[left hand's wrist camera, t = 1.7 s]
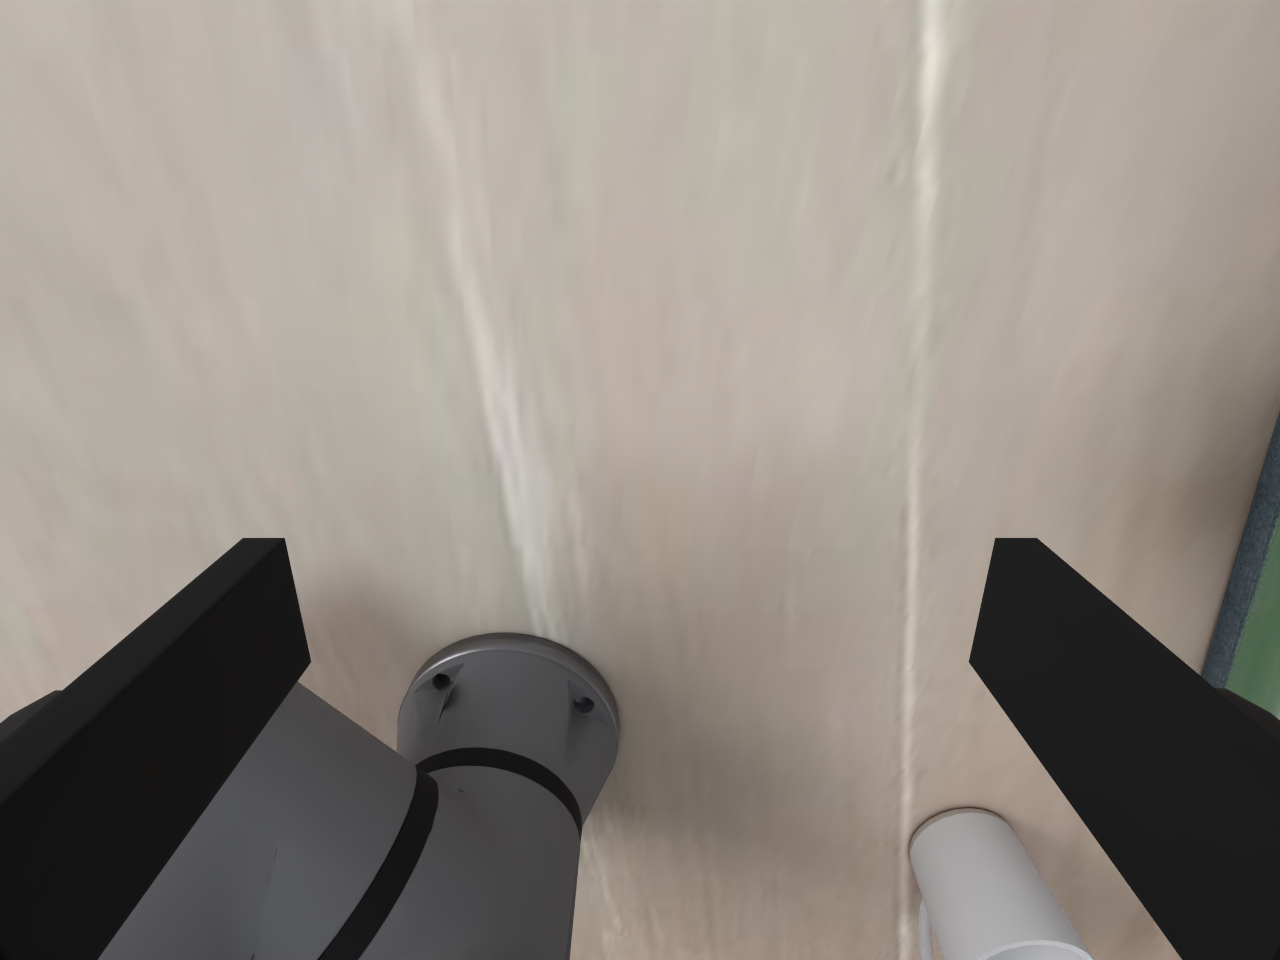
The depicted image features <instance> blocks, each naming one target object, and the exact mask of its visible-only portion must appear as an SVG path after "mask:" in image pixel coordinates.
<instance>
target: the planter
mask: <svg viewBox="0 0 1280 960" xmlns="http://www.w3.org/2000/svg"><path fill="white" fill-rule="evenodd" d="M1201 677H1202V678H1203V679H1204V680H1206V681H1207V682H1208V683H1209V684H1210V685H1212V686H1213V687H1214V688H1226V689H1228V690H1230V691H1232V692H1234V693H1235V694H1237V695H1239V696H1241V697H1243V698H1245V699H1246V700H1248V701H1250V702H1252V703H1254V704H1255V705H1257V706H1259V707H1261V708H1263V709H1265V710H1266V711H1268V712H1270V713H1271V714H1273V715H1274V716H1275V717H1276V718H1278V719H1279V720H1280V412H1279V416H1278V419H1277V422H1276V426H1275V429H1274V432H1273V436H1272V439H1271V442H1270V446H1269V449H1268V452H1267V456H1266V459H1265V462H1264V466H1263V469H1262V472H1261V476H1260V479H1259V483H1258V486H1257V489H1256V493H1255V496H1254V499H1253V503H1252V506H1251V510H1250V513H1249V516H1248V520H1247V523H1246V526H1245V530H1244V533H1243V537H1242V540H1241V543H1240V547H1239V550H1238V554H1237V557H1236V560H1235V564H1234V567H1233V570H1232V574H1231V577H1230V581H1229V584H1228V587H1227V591H1226V594H1225V598H1224V601H1223V605H1222V608H1221V611H1220V615H1219V618H1218V622H1217V625H1216V628H1215V632H1214V635H1213V639H1212V642H1211V646H1210V649H1209V652H1208V656H1207V659H1206V663H1205V666H1204V670H1203V673H1202V676H1201Z"/></svg>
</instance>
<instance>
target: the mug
mask: <svg viewBox="0 0 1280 960" xmlns="http://www.w3.org/2000/svg"><path fill="white" fill-rule="evenodd" d="M909 858H910V861H911V864H912V867H913V870H914V873H915V876H916V879H917V882H918V885H919V889H920V892H921V895H922V898H923V899H922V902H921V906H920V910H919V926H918V929H919V945H920V955H921V960H934V956H933V947H932V938H931V925H932V928H933V931H934V934H935V937H936V940H937V943H938V946H939V949H940V952H941V955H942V958H943V960H1094V958H1093V957H1092V955H1091V953H1090V952H1089V950H1088V949H1087V947H1086V945H1085V944H1084V942H1083V941H1082V939H1081V937H1080V936H1079V934H1078V933H1077V931H1076V929H1075V928H1074V926H1073V925H1072V923H1071V922H1070V920H1069V918H1068V917H1067V915H1066V914H1065V912H1064V910H1063V909H1062V907H1061V906H1060V904H1059V902H1058V901H1057V899H1056V898H1055V896H1054V894H1053V893H1052V891H1051V890H1050V888H1049V886H1048V885H1047V883H1046V882H1045V880H1044V879H1043V877H1042V875H1041V874H1040V872H1039V871H1038V869H1037V867H1036V866H1035V864H1034V863H1033V861H1032V859H1031V858H1030V856H1029V855H1028V853H1027V851H1026V850H1025V848H1024V847H1023V845H1022V843H1021V842H1020V840H1019V839H1018V837H1017V836H1016V834H1015V832H1014V831H1013V829H1012V828H1011V826H1010V825H1009V824H1008V823H1007V822H1006V821H1005V820H1004V819H1002V818H1001V817H999V816H997V815H996V814H994V813H992V812H989V811H986V810H982V809H974V808H963V809H954V810H950V811H947V812H944V813H941V814H939V815H937V816H935V817H933V818H931V819H929V820H928V821H927V822H925V823H924V824H923V825H922V826H920V827H919V829H918V830H917V831H916V833H915V834H914V835H913V838H912V841H911V843H910V847H909Z"/></svg>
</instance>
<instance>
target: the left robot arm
mask: <svg viewBox="0 0 1280 960" xmlns="http://www.w3.org/2000/svg"><path fill="white" fill-rule="evenodd" d="M310 663H311V659H310V654H309V650H308V645H307V640H306V636H305V631H304V626H303V622H302V617H301V612H300V608H299V603H298V598H297V594H296V589H295V584H294V580H293V575H292V570H291V566H290V561H289V556H288V552H287V547H286V542H285V538H243V539H241V540H240V541H239V542H238V543H237V544H236V545H234V546H233V547H232V548H231V549H230V550H228V551H227V552H226V553H225V554H224V555H222V556H221V557H220V558H219V559H218V560H217V561H215V562H214V563H213V564H212V565H211V566H209V567H208V568H207V569H206V570H205V571H204V572H202V573H201V574H200V575H199V576H198V577H196V578H195V579H194V580H193V581H192V582H190V583H189V584H188V585H187V586H186V587H185V588H183V589H182V590H181V591H180V592H179V593H177V594H176V595H175V596H174V597H173V598H172V599H170V600H169V601H168V602H167V603H166V604H164V605H163V606H162V607H161V608H160V609H158V610H157V611H156V612H155V613H154V614H153V615H151V616H150V617H149V618H148V619H147V620H145V621H144V622H143V623H142V624H141V625H140V626H138V627H137V628H136V629H135V630H134V631H132V632H131V633H130V634H129V635H128V636H126V637H125V638H124V639H123V640H122V641H121V642H119V643H118V644H117V645H116V646H115V647H113V648H112V649H111V650H110V651H109V652H108V653H106V654H105V655H104V656H103V657H102V658H100V659H99V660H98V661H97V662H96V663H94V664H93V665H92V666H91V667H90V668H89V669H87V670H86V671H85V672H84V673H83V674H81V675H80V676H79V677H78V678H77V679H76V680H74V681H73V682H72V683H71V684H70V685H68V686H67V687H66V688H65V689H64V690H62V691H53V692H52V693H50V694H48V695H46V696H44V697H43V698H41V699H39V700H37V701H35V702H34V703H32V704H30V705H28V706H26V707H24V708H23V709H21V710H19V711H17V712H15V713H14V714H12V715H10V716H9V717H8V718H6V719H5V720H4V721H3V722H1V723H0V960H570V949H571V938H572V928H573V917H574V907H575V896H576V886H577V875H578V864H579V854H580V842H581V833H582V826H583V824H584V822H585V820H586V818H587V816H588V814H589V813H590V811H591V809H592V807H593V805H594V803H595V801H596V799H597V797H598V795H599V793H600V791H601V789H602V787H603V785H604V783H605V781H606V779H607V777H608V775H609V774H610V772H611V770H612V767H613V765H614V762H615V759H616V754H617V747H618V731H619V719H618V712H617V707H616V704H615V701H614V698H613V696H612V694H611V691H610V689H609V688H608V686H607V685H606V683H605V681H604V680H603V679H602V678H601V676H600V675H599V674H598V673H597V672H596V671H595V670H594V669H593V667H591V666H590V665H589V664H588V663H587V662H586V661H585V660H583V659H582V658H580V657H579V656H578V655H576V654H575V653H573V652H571V651H570V650H568V649H566V648H564V647H562V646H560V645H558V644H555V643H553V642H550V641H547V640H544V639H541V638H537V637H533V636H528V635H522V634H513V633H493V634H484V635H479V636H474V637H470V638H467V639H463V640H460V641H458V642H456V643H453V644H451V645H449V646H447V647H445V648H444V649H442V650H441V651H439V652H438V653H436V654H435V655H434V656H432V657H431V658H430V659H429V660H428V661H427V662H426V663H425V664H424V665H423V666H422V667H421V669H420V670H419V671H418V673H417V674H416V676H415V678H414V679H413V681H412V683H411V685H410V687H409V689H408V691H407V693H406V695H405V697H404V700H403V702H402V705H401V708H400V712H399V717H398V734H397V752H396V751H394V750H393V749H391V748H390V747H388V746H387V745H386V744H384V743H383V742H381V741H380V740H379V739H377V738H376V737H374V736H373V735H372V734H370V733H369V732H367V731H366V730H365V729H363V728H362V727H360V726H359V725H358V724H356V723H355V722H353V721H352V720H351V719H349V718H348V717H346V716H345V715H344V714H342V713H341V712H339V711H338V710H337V709H335V708H334V707H332V706H331V705H330V704H328V703H327V702H325V701H324V700H323V699H321V698H320V697H318V696H317V695H316V694H314V693H313V692H311V691H310V690H309V689H307V688H306V687H304V686H303V685H302V684H300V683H299V682H297V681H298V680H299V678H300V677H301V675H302V674H303V673H304V671H305V670H306V668H307V667H308V666H309V664H310ZM969 663H970V664H971V666H972V667H973V668H974V670H975V671H976V673H977V674H978V675H979V677H980V678H981V680H982V681H983V682H984V684H985V685H986V687H987V688H988V689H989V691H990V692H991V694H992V695H993V696H994V698H995V699H996V700H997V702H998V703H999V705H1000V706H1001V707H1002V709H1003V710H1004V712H1005V713H1006V714H1007V716H1008V717H1009V719H1010V720H1011V721H1012V723H1013V724H1014V726H1015V727H1016V728H1017V730H1018V731H1019V733H1020V734H1021V735H1022V737H1023V738H1024V740H1025V741H1026V742H1027V744H1028V745H1029V747H1030V748H1031V749H1032V751H1033V752H1034V754H1035V755H1036V756H1037V758H1038V759H1039V760H1040V762H1041V763H1042V765H1043V766H1044V767H1045V769H1046V770H1047V772H1048V773H1049V774H1050V776H1051V777H1052V779H1053V780H1054V781H1055V783H1056V784H1057V786H1058V787H1059V788H1060V790H1061V791H1062V793H1063V794H1064V795H1065V797H1066V798H1067V800H1068V801H1069V802H1070V804H1071V805H1072V807H1073V808H1074V809H1075V811H1076V812H1077V813H1078V815H1079V816H1080V818H1081V819H1082V820H1083V822H1084V823H1085V825H1086V826H1087V827H1088V829H1089V830H1090V832H1091V833H1092V834H1093V836H1094V837H1095V839H1096V840H1097V841H1098V843H1099V844H1100V846H1101V847H1102V848H1103V850H1104V851H1105V853H1106V854H1107V855H1108V857H1109V858H1110V860H1111V861H1112V862H1113V864H1114V865H1115V866H1116V868H1117V869H1118V871H1119V872H1120V873H1121V875H1122V876H1123V878H1124V879H1125V880H1126V882H1127V883H1128V885H1129V886H1130V887H1131V889H1132V890H1133V892H1134V893H1135V894H1136V896H1137V897H1138V899H1139V900H1140V901H1141V903H1142V904H1143V906H1144V907H1145V908H1146V910H1147V911H1148V913H1149V914H1150V915H1151V917H1152V918H1153V920H1154V921H1155V922H1156V924H1157V925H1158V926H1159V928H1160V929H1161V931H1162V932H1163V933H1164V935H1165V936H1166V938H1167V939H1168V940H1169V942H1170V943H1171V945H1172V946H1173V947H1174V949H1175V950H1176V952H1177V953H1178V954H1179V956H1180V957H1181V959H1182V960H1280V720H1279V719H1278V718H1276V717H1275V716H1274V715H1273V714H1271V713H1270V712H1268V711H1266V710H1265V709H1263V708H1261V707H1259V706H1257V705H1255V704H1254V703H1252V702H1250V701H1248V700H1246V699H1245V698H1243V697H1241V696H1239V695H1237V694H1235V693H1234V692H1232V691H1230V690H1228V689H1226V688H1214V687H1213V686H1212V685H1210V684H1209V683H1208V682H1207V681H1206V680H1204V679H1203V678H1202V677H1201V676H1200V675H1199V674H1197V673H1196V672H1195V671H1194V670H1193V669H1191V668H1190V667H1189V666H1188V665H1187V664H1186V663H1184V662H1183V661H1182V660H1181V659H1180V658H1178V657H1177V656H1176V655H1175V654H1174V653H1172V652H1171V651H1170V650H1169V649H1168V648H1167V647H1165V646H1164V645H1163V644H1162V643H1161V642H1159V641H1158V640H1157V639H1156V638H1155V637H1154V636H1152V635H1151V634H1150V633H1149V632H1148V631H1146V630H1145V629H1144V628H1143V627H1142V626H1140V625H1139V624H1138V623H1137V622H1136V621H1135V620H1133V619H1132V618H1131V617H1130V616H1129V615H1127V614H1126V613H1125V612H1124V611H1123V610H1122V609H1120V608H1119V607H1118V606H1117V605H1116V604H1114V603H1113V602H1112V601H1111V600H1110V599H1108V598H1107V597H1106V596H1105V595H1104V594H1103V593H1101V592H1100V591H1099V590H1098V589H1097V588H1095V587H1094V586H1093V585H1092V584H1091V583H1090V582H1088V581H1087V580H1086V579H1085V578H1084V577H1082V576H1081V575H1080V574H1079V573H1078V572H1076V571H1075V570H1074V569H1073V568H1072V567H1071V566H1069V565H1068V564H1067V563H1066V562H1065V561H1063V560H1062V559H1061V558H1060V557H1059V556H1058V555H1056V554H1055V553H1054V552H1053V551H1052V550H1050V549H1049V548H1048V547H1047V546H1046V545H1044V544H1043V543H1042V542H1041V541H1040V540H1039V539H1037V538H995V542H994V547H993V552H992V556H991V561H990V566H989V570H988V575H987V580H986V584H985V589H984V594H983V598H982V603H981V608H980V612H979V617H978V622H977V626H976V631H975V636H974V640H973V645H972V650H971V654H970V659H969Z"/></svg>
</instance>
